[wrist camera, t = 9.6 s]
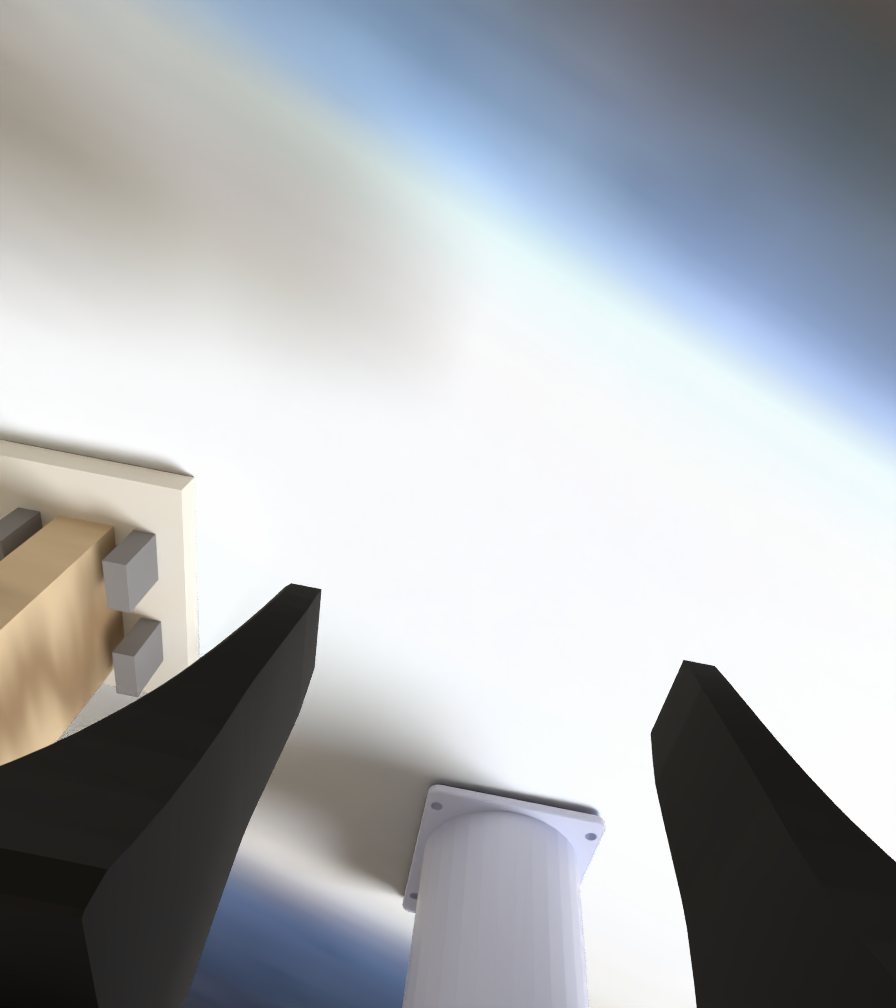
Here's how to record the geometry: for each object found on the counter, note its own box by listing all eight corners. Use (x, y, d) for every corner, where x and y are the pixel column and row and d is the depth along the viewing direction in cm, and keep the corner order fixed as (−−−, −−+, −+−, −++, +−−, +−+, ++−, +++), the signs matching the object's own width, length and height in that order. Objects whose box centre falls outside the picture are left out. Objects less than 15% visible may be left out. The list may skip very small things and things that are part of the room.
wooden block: (126, 653, 26) (-20, 836, 19) (77, 643, 26) (-86, 823, 19) (113, 525, 23) (-63, 687, 16) (58, 515, 23) (-142, 672, 16)
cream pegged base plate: (199, 683, 28) (166, 739, 25) (39, 652, 28) (-11, 704, 25) (194, 477, 23) (152, 519, 20) (1, 440, 23) (-66, 476, 21)
